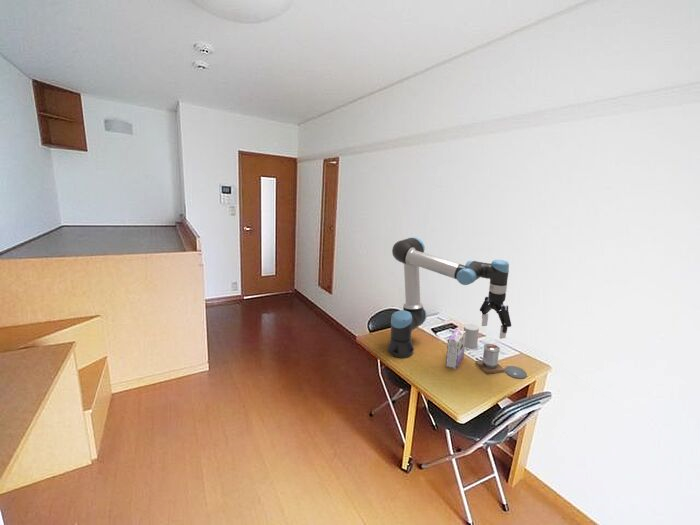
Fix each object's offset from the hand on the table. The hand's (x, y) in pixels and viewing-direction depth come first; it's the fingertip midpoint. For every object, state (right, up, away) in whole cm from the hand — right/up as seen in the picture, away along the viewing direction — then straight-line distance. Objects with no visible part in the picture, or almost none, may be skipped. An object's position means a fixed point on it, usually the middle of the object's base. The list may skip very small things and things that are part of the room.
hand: (493, 331), depth 154 cm
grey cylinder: (+2, -18, +7) cm, 19 cm away
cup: (0, -15, +30) cm, 34 cm away
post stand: (+2, -21, +8) cm, 22 cm away
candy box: (-15, -20, +14) cm, 28 cm away
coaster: (+13, -22, +3) cm, 26 cm away
